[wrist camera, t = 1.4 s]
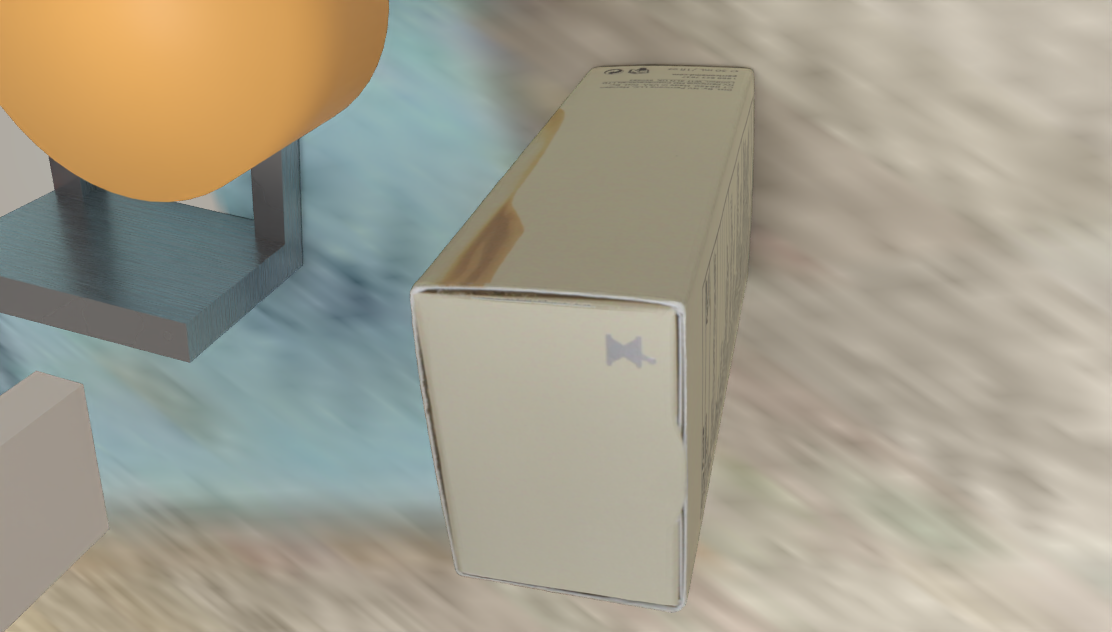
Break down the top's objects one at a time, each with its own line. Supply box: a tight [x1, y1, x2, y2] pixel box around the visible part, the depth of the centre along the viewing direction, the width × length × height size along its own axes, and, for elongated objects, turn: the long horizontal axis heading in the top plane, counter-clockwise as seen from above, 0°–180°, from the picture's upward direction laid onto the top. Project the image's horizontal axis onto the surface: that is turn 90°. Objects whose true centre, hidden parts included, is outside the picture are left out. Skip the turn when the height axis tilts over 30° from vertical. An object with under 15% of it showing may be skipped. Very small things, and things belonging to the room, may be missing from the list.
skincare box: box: [410, 66, 754, 613], centre depth 20 cm, size 6×4×12 cm
